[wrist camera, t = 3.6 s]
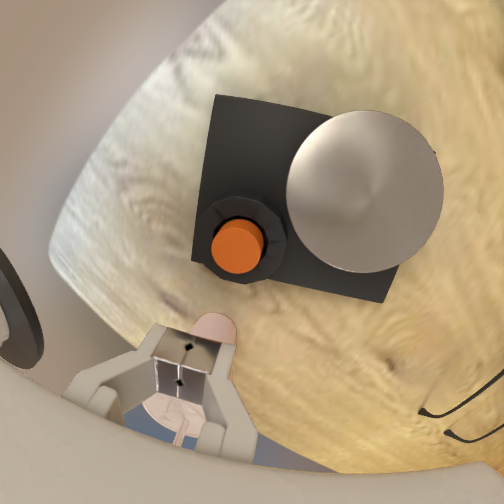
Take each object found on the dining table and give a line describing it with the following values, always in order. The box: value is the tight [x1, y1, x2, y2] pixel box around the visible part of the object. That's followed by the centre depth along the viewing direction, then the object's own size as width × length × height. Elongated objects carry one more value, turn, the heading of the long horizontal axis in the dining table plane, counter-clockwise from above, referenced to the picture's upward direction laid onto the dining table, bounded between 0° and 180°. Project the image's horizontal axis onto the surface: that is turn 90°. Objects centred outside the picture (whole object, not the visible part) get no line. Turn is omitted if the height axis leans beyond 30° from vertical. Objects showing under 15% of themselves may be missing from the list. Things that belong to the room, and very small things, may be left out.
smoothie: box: [142, 313, 236, 447], centre depth 20 cm, size 6×6×14 cm
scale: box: [191, 94, 435, 303], centre depth 19 cm, size 15×12×3 cm
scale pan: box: [286, 110, 444, 273], centre depth 16 cm, size 10×10×1 cm
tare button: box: [211, 219, 264, 274], centre depth 19 cm, size 3×3×2 cm
